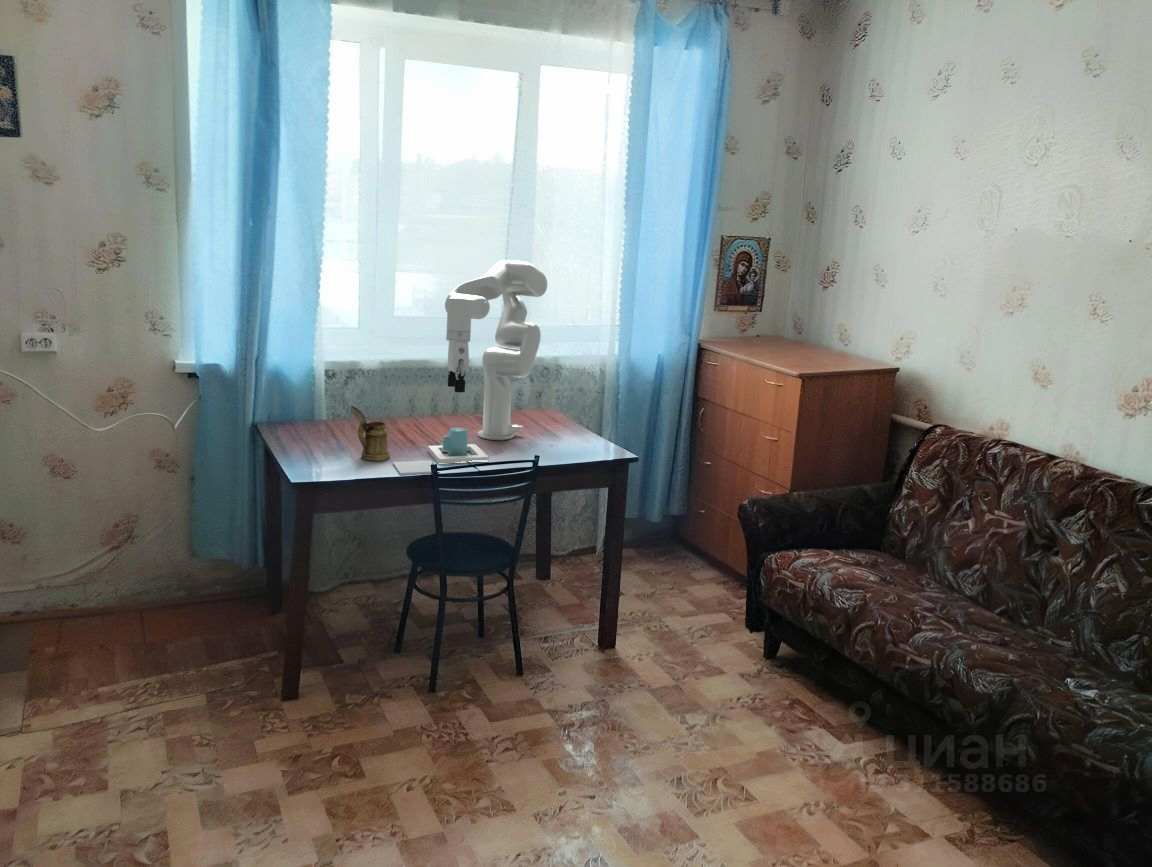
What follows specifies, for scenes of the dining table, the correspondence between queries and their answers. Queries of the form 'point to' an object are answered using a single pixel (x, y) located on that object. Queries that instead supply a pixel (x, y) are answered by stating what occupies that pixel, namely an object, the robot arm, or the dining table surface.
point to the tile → (413, 467)
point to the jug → (456, 442)
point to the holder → (440, 458)
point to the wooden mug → (372, 438)
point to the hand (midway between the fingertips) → (456, 389)
